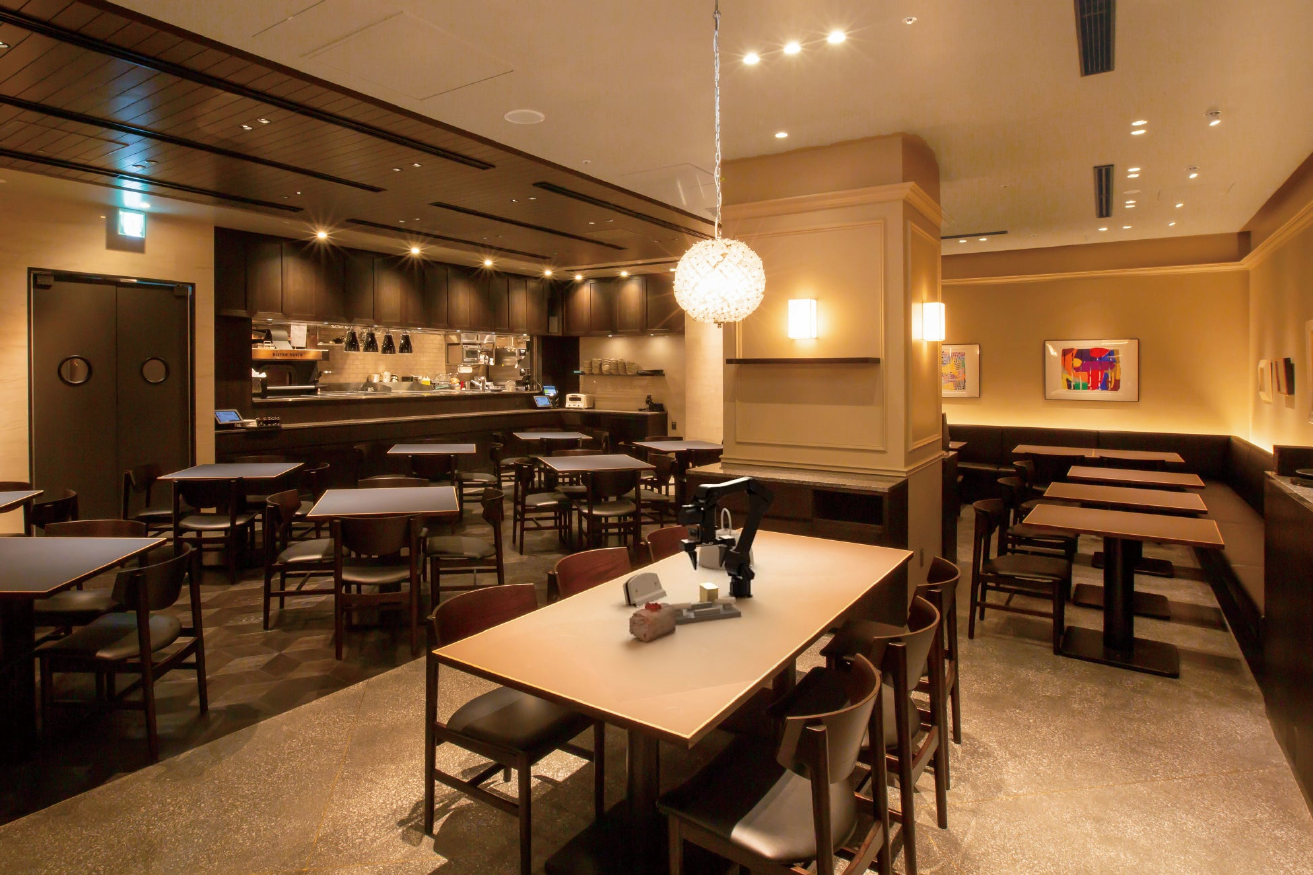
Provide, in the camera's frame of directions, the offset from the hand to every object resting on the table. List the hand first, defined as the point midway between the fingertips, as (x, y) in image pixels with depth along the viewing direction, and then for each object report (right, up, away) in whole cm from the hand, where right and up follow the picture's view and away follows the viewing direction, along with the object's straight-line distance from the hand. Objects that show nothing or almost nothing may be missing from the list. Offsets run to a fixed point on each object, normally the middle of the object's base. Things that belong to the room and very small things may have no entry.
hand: (707, 568), depth 236 cm
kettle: (+11, -8, +56) cm, 58 cm away
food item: (-18, -15, -29) cm, 38 cm away
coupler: (0, -12, +1) cm, 12 cm away
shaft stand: (-2, -13, -12) cm, 18 cm away
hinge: (-22, -12, +6) cm, 25 cm away
